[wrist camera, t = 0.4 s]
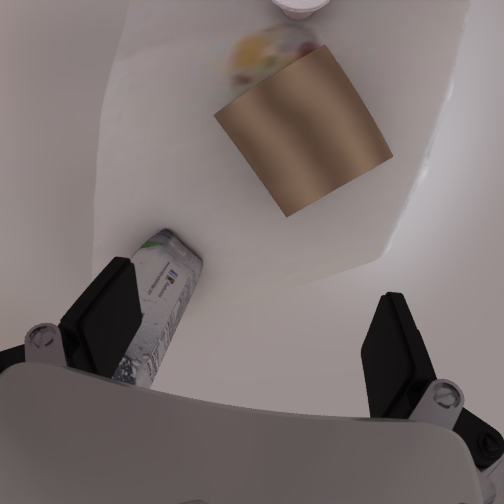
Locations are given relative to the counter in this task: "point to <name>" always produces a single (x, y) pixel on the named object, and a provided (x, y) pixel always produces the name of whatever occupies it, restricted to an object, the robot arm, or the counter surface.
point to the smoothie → (300, 7)
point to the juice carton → (158, 304)
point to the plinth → (305, 131)
